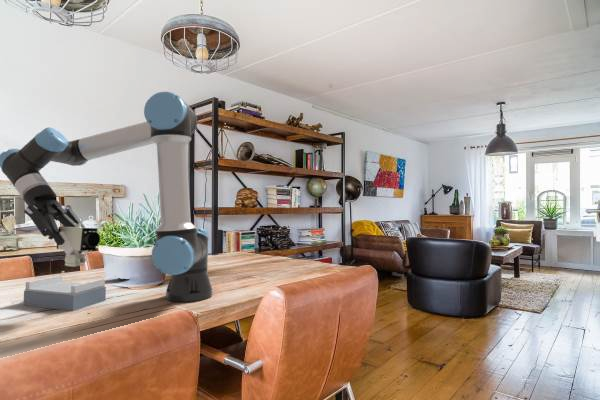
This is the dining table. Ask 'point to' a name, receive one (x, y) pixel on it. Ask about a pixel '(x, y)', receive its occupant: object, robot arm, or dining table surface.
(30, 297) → the grey piece
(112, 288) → the dining table surface
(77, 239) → the pneumatic valve
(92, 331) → the dining table surface
